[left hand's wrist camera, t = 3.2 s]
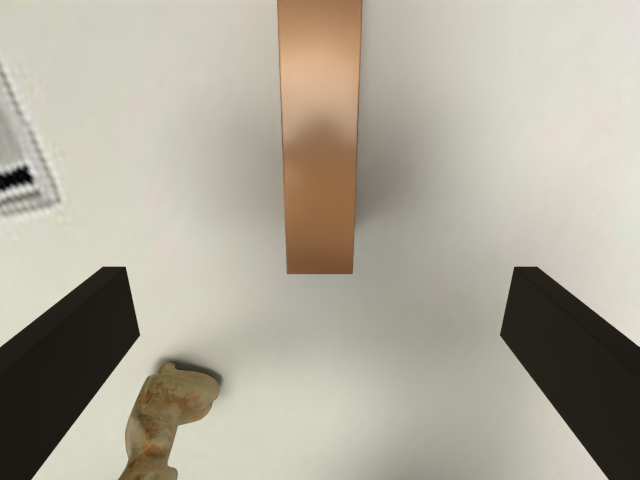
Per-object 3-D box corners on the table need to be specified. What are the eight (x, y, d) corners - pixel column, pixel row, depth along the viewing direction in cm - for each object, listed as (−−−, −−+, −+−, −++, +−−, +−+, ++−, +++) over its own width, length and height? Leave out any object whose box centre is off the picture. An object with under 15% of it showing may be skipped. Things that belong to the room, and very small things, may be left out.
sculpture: (207, 410, 41) (149, 572, 27) (145, 386, 40) (51, 542, 26) (228, 373, 39) (178, 526, 25) (163, 346, 38) (72, 492, 24)
